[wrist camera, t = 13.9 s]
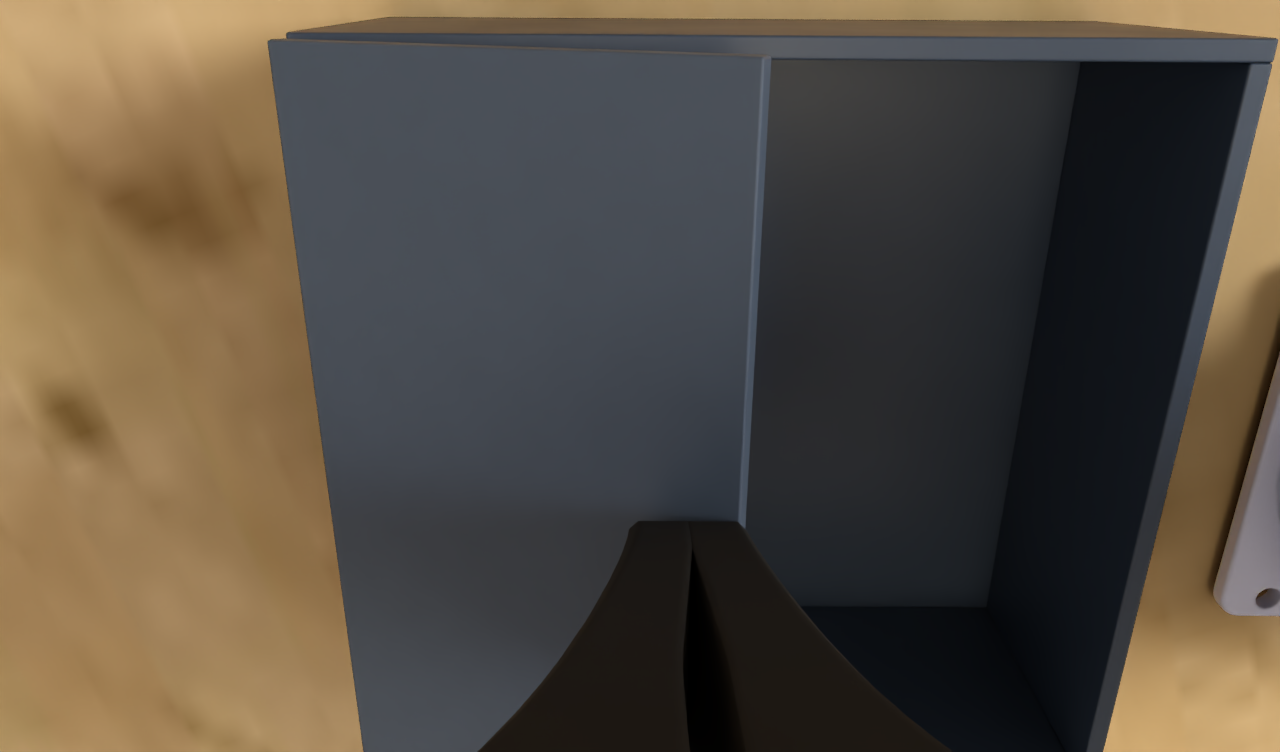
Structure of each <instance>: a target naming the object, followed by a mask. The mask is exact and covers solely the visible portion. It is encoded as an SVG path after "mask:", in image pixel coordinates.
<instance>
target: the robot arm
mask: <svg viewBox="0 0 1280 752" xmlns="http://www.w3.org/2000/svg"><path fill="white" fill-rule="evenodd" d="M1264 589H1268V591H1267V592H1266V593H1265V594H1264V595H1262V596H1260V597H1257V595H1258V594H1259V593H1260V592H1261V591H1263V590H1264ZM1213 596H1214V598H1215V600H1216V602H1217V603H1218V604H1219V605H1220V606H1221V608H1222V609H1223V610H1224V611H1226V612H1227V613H1229V614H1231V615H1237V616H1280V353H1279V356H1278V360H1277V364H1276V367H1275V371H1274V374H1273V378H1272V381H1271V385H1270V389H1269V392H1268V396H1267V399H1266V403H1265V406H1264V410H1263V414H1262V417H1261V421H1260V424H1259V428H1258V431H1257V435H1256V439H1255V442H1254V446H1253V449H1252V453H1251V456H1250V460H1249V464H1248V467H1247V471H1246V474H1245V478H1244V482H1243V485H1242V489H1241V492H1240V496H1239V499H1238V503H1237V507H1236V510H1235V514H1234V517H1233V521H1232V524H1231V528H1230V532H1229V535H1228V539H1227V542H1226V546H1225V549H1224V553H1223V557H1222V560H1221V564H1220V567H1219V571H1218V574H1217V578H1216V582H1215V585H1214V589H1213ZM477 752H953V751H952V750H950V749H949V748H948V747H946V746H945V745H944V744H942V743H941V742H939V741H938V740H937V739H935V738H934V737H933V736H931V735H930V734H929V733H927V732H926V731H925V730H924V729H922V728H921V727H920V726H919V725H917V724H916V723H915V722H914V721H912V720H911V719H910V718H909V717H908V716H906V715H905V714H904V713H903V712H902V711H901V710H899V709H898V708H897V707H896V706H895V705H894V704H893V703H891V702H890V701H889V700H888V699H887V698H886V697H885V696H884V695H882V694H881V693H880V692H879V691H878V690H877V689H876V688H874V687H873V686H872V685H871V684H870V683H869V682H868V681H867V680H866V679H865V678H864V677H863V676H862V675H861V674H860V673H859V672H858V671H857V670H856V669H855V668H854V667H853V666H852V665H851V664H850V663H849V662H848V661H847V659H846V658H845V657H844V656H843V655H842V654H841V653H840V652H839V651H838V650H837V649H836V648H835V647H834V646H833V645H832V643H831V642H830V641H829V640H828V639H827V638H826V637H825V636H824V634H823V633H822V632H821V631H820V630H819V629H818V628H817V626H816V625H815V624H814V623H813V622H812V620H811V619H810V618H809V617H808V615H807V614H806V613H805V612H804V611H803V609H802V608H801V607H800V606H799V604H798V603H797V602H796V601H795V599H794V598H793V597H792V596H791V595H790V593H789V592H788V591H787V589H786V588H785V587H784V585H783V584H782V583H781V581H780V580H779V579H778V577H777V576H776V574H775V573H774V572H773V570H772V569H771V567H770V566H769V565H768V563H767V562H766V560H765V559H764V557H763V556H762V554H761V553H760V551H759V550H758V548H757V547H756V545H755V544H754V542H753V541H752V539H751V537H750V536H749V534H748V532H747V531H746V529H745V528H744V527H743V526H742V525H741V524H740V523H739V522H731V521H638V522H636V523H635V524H634V525H633V526H632V527H631V528H630V529H629V532H628V537H627V540H626V543H625V546H624V549H623V551H622V554H621V556H620V559H619V561H618V563H617V565H616V567H615V569H614V571H613V573H612V575H611V578H610V580H609V581H608V583H607V585H606V587H605V589H604V590H603V592H602V594H601V596H600V597H599V599H598V601H597V603H596V604H595V606H594V608H593V610H592V611H591V613H590V615H589V616H588V618H587V620H586V621H585V623H584V624H583V626H582V627H581V629H580V630H579V632H578V633H577V634H576V636H575V637H574V639H573V640H572V642H571V643H570V645H569V646H568V648H567V649H566V650H565V652H564V653H563V655H562V656H561V658H560V659H559V661H558V662H557V663H556V665H555V666H554V667H553V668H552V670H551V671H550V672H549V674H548V675H547V676H546V677H545V679H544V680H543V681H542V682H541V684H540V685H539V686H538V687H537V689H536V690H535V691H534V692H533V693H532V694H531V696H530V697H529V698H528V699H527V700H526V701H525V702H524V704H523V705H522V706H521V707H520V708H519V709H518V710H517V712H516V713H515V714H514V715H513V716H512V717H511V718H510V719H509V720H508V721H507V722H506V723H505V724H504V725H503V726H502V727H501V728H500V729H499V730H498V731H497V732H496V733H495V734H494V735H493V736H492V737H491V738H490V739H489V740H488V742H487V743H486V744H485V745H484V746H483V747H482V748H481V749H480V750H478V751H477Z"/></svg>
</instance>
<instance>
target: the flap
mask: <svg viewBox="0 0 1280 752" xmlns="http://www.w3.org/2000/svg"><path fill="white" fill-rule="evenodd" d="M268 49H269V56H270V64H271V71H272V79H273V86H274V93H275V101H276V108H277V115H278V123H279V130H280V138H281V145H282V152H283V160H284V167H285V175H286V182H287V189H288V197H289V204H290V212H291V219H292V226H293V234H294V241H295V249H296V256H297V263H298V271H299V278H300V285H301V293H302V300H303V308H304V315H305V322H306V330H307V337H308V345H309V352H310V359H311V367H312V374H313V382H314V389H315V396H316V404H317V411H318V418H319V426H320V433H321V441H322V448H323V455H324V463H325V470H326V478H327V485H328V492H329V500H330V507H331V515H332V522H333V529H334V537H335V544H336V552H337V559H338V566H339V574H340V581H341V588H342V596H343V603H344V611H345V618H346V625H347V633H348V640H349V648H350V655H351V662H352V670H353V677H354V685H355V692H356V699H357V707H358V714H359V722H360V729H361V736H362V744H363V751H364V752H477V751H478V750H480V749H481V748H482V747H483V746H484V745H485V744H486V743H487V742H488V740H489V739H490V738H491V737H492V736H493V735H494V734H495V733H496V732H497V731H498V730H499V729H500V728H501V727H502V726H503V725H504V724H505V723H506V722H507V721H508V720H509V719H510V718H511V717H512V716H513V715H514V714H515V713H516V712H517V710H518V709H519V708H520V707H521V706H522V705H523V704H524V702H525V701H526V700H527V699H528V698H529V697H530V696H531V694H532V693H533V692H534V691H535V690H536V689H537V687H538V686H539V685H540V684H541V682H542V681H543V680H544V679H545V677H546V676H547V675H548V674H549V672H550V671H551V670H552V668H553V667H554V666H555V665H556V663H557V662H558V661H559V659H560V658H561V656H562V655H563V653H564V652H565V650H566V649H567V648H568V646H569V645H570V643H571V642H572V640H573V639H574V637H575V636H576V634H577V633H578V632H579V630H580V629H581V627H582V626H583V624H584V623H585V621H586V620H587V618H588V616H589V615H590V613H591V611H592V610H593V608H594V606H595V604H596V603H597V601H598V599H599V597H600V596H601V594H602V592H603V590H604V589H605V587H606V585H607V583H608V581H609V580H610V578H611V575H612V573H613V571H614V569H615V567H616V565H617V563H618V561H619V559H620V556H621V554H622V551H623V549H624V546H625V543H626V540H627V537H628V532H629V529H630V528H631V527H632V526H633V525H634V524H635V523H636V522H638V521H731V522H739V523H740V524H741V525H742V526H743V527H744V528H745V525H746V507H747V489H748V471H749V453H750V434H751V416H752V398H753V380H754V362H755V344H756V326H757V308H758V290H759V272H760V254H761V236H762V218H763V200H764V181H765V163H766V145H767V127H768V109H769V91H770V73H771V56H769V55H758V54H728V53H698V52H668V51H639V50H609V49H579V48H549V47H519V46H489V45H459V44H430V43H400V42H370V41H340V40H310V39H271V40H269V41H268Z"/></svg>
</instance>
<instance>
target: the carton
mask: <svg viewBox="0 0 1280 752" xmlns="http://www.w3.org/2000/svg"><path fill="white" fill-rule="evenodd" d="M286 38H287V39H310V40H340V41H370V42H400V43H430V44H459V45H489V46H519V47H549V48H579V49H609V50H639V51H668V52H698V53H728V54H758V55H769V56H771V73H770V91H769V109H768V127H767V145H766V163H765V181H764V200H763V218H762V236H761V254H760V272H759V290H758V308H757V326H756V344H755V362H754V380H753V398H752V416H751V434H750V453H749V471H748V489H747V507H746V525H745V529H746V531H747V532H748V534H749V536H750V537H751V539H752V541H753V542H754V544H755V545H756V547H757V548H758V550H759V551H760V553H761V554H762V556H763V557H764V559H765V560H766V562H767V563H768V565H769V566H770V567H771V569H772V570H773V572H774V573H775V574H776V576H777V577H778V579H779V580H780V581H781V583H782V584H783V585H784V587H785V588H786V589H787V591H788V592H789V593H790V595H791V596H792V597H793V598H794V599H795V601H796V602H797V603H798V604H799V606H800V607H801V608H802V609H803V611H804V612H805V613H806V614H807V615H808V617H809V618H810V619H811V620H812V622H813V623H814V624H815V625H816V626H817V628H818V629H819V630H820V631H821V632H822V633H823V634H824V636H825V637H826V638H827V639H828V640H829V641H830V642H831V643H832V645H833V646H834V647H835V648H836V649H837V650H838V651H839V652H840V653H841V654H842V655H843V656H844V657H845V658H846V659H847V661H848V662H849V663H850V664H851V665H852V666H853V667H854V668H855V669H856V670H857V671H858V672H859V673H860V674H861V675H862V676H863V677H864V678H865V679H866V680H867V681H868V682H869V683H870V684H871V685H872V686H873V687H874V688H876V689H877V690H878V691H879V692H880V693H881V694H882V695H884V696H885V697H886V698H887V699H888V700H889V701H890V702H891V703H893V704H894V705H895V706H896V707H897V708H898V709H899V710H901V711H902V712H903V713H904V714H905V715H906V716H908V717H909V718H910V719H911V720H912V721H914V722H915V723H916V724H917V725H919V726H920V727H921V728H922V729H924V730H925V731H926V732H927V733H929V734H930V735H931V736H933V737H934V738H935V739H937V740H938V741H939V742H941V743H942V744H944V745H945V746H946V747H948V748H949V749H950V750H952V751H953V752H1103V750H1104V746H1105V742H1106V738H1107V733H1108V729H1109V725H1110V721H1111V717H1112V713H1113V709H1114V705H1115V701H1116V697H1117V693H1118V689H1119V685H1120V681H1121V677H1122V673H1123V668H1124V664H1125V660H1126V656H1127V652H1128V648H1129V644H1130V640H1131V636H1132V632H1133V628H1134V624H1135V620H1136V616H1137V612H1138V608H1139V604H1140V599H1141V595H1142V591H1143V587H1144V583H1145V579H1146V575H1147V571H1148V567H1149V563H1150V559H1151V555H1152V551H1153V547H1154V543H1155V539H1156V535H1157V530H1158V526H1159V522H1160V518H1161V514H1162V510H1163V506H1164V502H1165V498H1166V494H1167V490H1168V486H1169V482H1170V478H1171V474H1172V470H1173V466H1174V461H1175V457H1176V453H1177V449H1178V445H1179V441H1180V437H1181V433H1182V429H1183V425H1184V421H1185V417H1186V413H1187V409H1188V405H1189V401H1190V397H1191V392H1192V388H1193V384H1194V380H1195V376H1196V372H1197V368H1198V364H1199V360H1200V356H1201V352H1202V348H1203V344H1204V340H1205V336H1206V332H1207V328H1208V323H1209V319H1210V315H1211V311H1212V307H1213V303H1214V299H1215V295H1216V291H1217V287H1218V283H1219V279H1220V275H1221V271H1222V267H1223V263H1224V259H1225V254H1226V250H1227V246H1228V242H1229V238H1230V234H1231V230H1232V226H1233V222H1234V218H1235V214H1236V210H1237V206H1238V202H1239V198H1240V194H1241V190H1242V185H1243V181H1244V177H1245V173H1246V169H1247V165H1248V161H1249V157H1250V153H1251V149H1252V145H1253V141H1254V137H1255V133H1256V129H1257V125H1258V121H1259V116H1260V112H1261V108H1262V104H1263V100H1264V96H1265V92H1266V88H1267V84H1268V80H1269V76H1270V72H1271V68H1272V64H1270V63H1271V62H1273V60H1274V56H1275V52H1276V47H1277V43H1278V39H1276V38H1268V37H1257V36H1247V35H1236V34H1225V33H1215V32H1204V31H1193V30H1182V29H1172V28H1161V27H1150V26H1140V25H1129V24H1118V23H1107V22H1097V21H948V20H787V19H626V18H465V17H386V18H380V19H373V20H366V21H359V22H353V23H346V24H339V25H333V26H326V27H319V28H312V29H306V30H299V31H292V32H288V33H287V34H286Z"/></svg>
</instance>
